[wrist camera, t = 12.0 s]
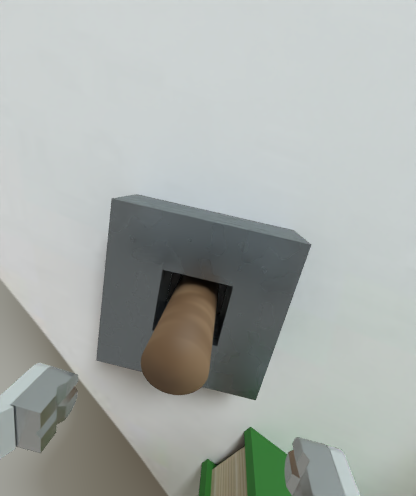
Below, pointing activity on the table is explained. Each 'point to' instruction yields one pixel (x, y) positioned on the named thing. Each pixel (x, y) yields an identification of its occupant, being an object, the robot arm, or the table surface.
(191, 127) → the table surface
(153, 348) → the round peg
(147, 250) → the socket
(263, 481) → the hardback book
